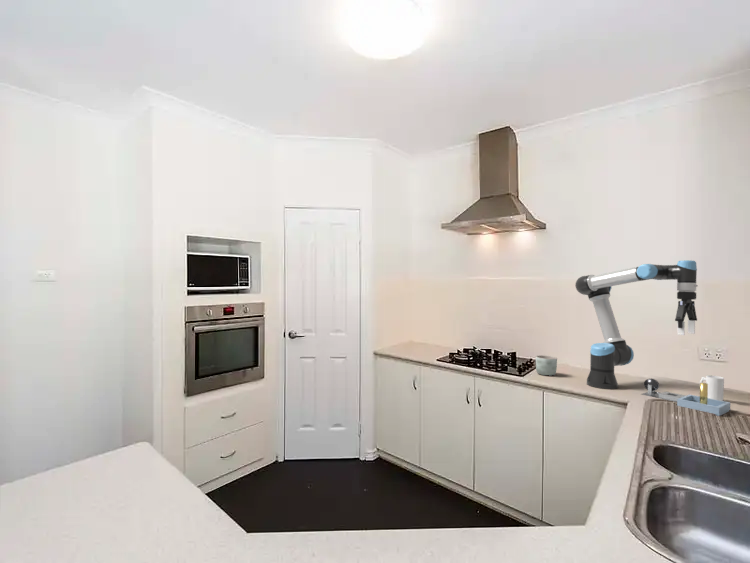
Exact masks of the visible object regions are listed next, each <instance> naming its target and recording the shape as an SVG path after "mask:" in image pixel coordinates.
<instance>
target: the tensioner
mask: <svg viewBox="0 0 750 563" xmlns="http://www.w3.org/2000/svg"><path fill="white" fill-rule="evenodd" d="M643 386H644V388H645V389H646V390H647V392H643V393H641V394H640V395H642V396H647V397H651V398H656V399H660V400H665V401H669V402H675V403H677V399H679V398H681V397H684V396H687V394H686V395H685V394H679V393H675V392H670V391H662V392H658V391H657V390H659V388H660V383H659V381H658V380H657V379H655V378H648V379H645V380H644V381H643Z"/></svg>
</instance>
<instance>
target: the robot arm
mask: <svg viewBox="0 0 750 563" xmlns="http://www.w3.org/2000/svg"><path fill="white" fill-rule="evenodd" d="M697 271H698V268H697V261H696V260H692V259H691V260H678V261H677V264H673V265H672V264H671V265H670V264H667V265H665V264H651V263H644V264H643V263H642V264H641V265H639V266H636V267H630V268H625V269H621V270H616V271H612V272H608V273H607V272H606V273H602V274H597V275H595V274H590V275H589V274H588V275H581V276H580V277H578V278H577V280H576V281H575V284H574V285H575V289H576V291H577V292H578V293H579V294H581V295H584V296H585V295H586V296H587V298H588V300H589V301H590V302H592V304H593V308H594V310H595V313H596V316H597V320H598V323H599V327H600V330H601V334H602V336H603V340H604V341H603V342H596V343H592V344H591V346H590V351H589V352H590V367H589V368H590V370H589V374H588V376H587V379H586V385H588V386H589V387H594V388H599V389H604V390H614V389H618V388H619V384H618V381H617V377H616V374H615V367H618V366H626V365H629V364H630V363H631V362H632V361H633V360H634V354H635V353H634V350H633V348H632V347H631V346H629V345H628V344H627V342H626V339H625V338H622V336H621V333H620V330H619V326H618V324H617V320H616V317H615V315H614V312H613V309H612V305H611V303H610V297H611V290H612V287H613V286H619V285H625V284H631V283H636V282H642V281H648V280H654V281H655V280H657V281H664V280H665V281H666V280H667V281H668V280H669V281H671V280H672V281H673V280H676V281H677V283H676V284H677V285H676V289H677V290H676V291H677V292H676V298H677V300H678V302H677V309H676V315H675V319H674V322H676V324H677V325H676V328H677V331H676V335H678V336H679V335H680V336H685V326H686V325H685V324H686V322H685V321H684V320H685V318H686V315H687V318H688V320H687V334H693V335H694V334H695V333H696V322H697V321H698V318H697V312H696V311H697V310H696V307H695V301H694V300H697V292H696V291H697V288H698V287H699V286H698V284H697Z"/></svg>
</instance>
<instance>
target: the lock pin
mask: <svg viewBox="0 0 750 563" xmlns="http://www.w3.org/2000/svg"><path fill="white" fill-rule="evenodd" d="M699 396H700V403H702V404H707V405H708V384H707V383H706V382H702V383H700V382H699Z"/></svg>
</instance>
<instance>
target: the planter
mask: <svg viewBox="0 0 750 563" xmlns="http://www.w3.org/2000/svg"><path fill="white" fill-rule="evenodd" d="M557 366H558V358H557V357H556V356H551V355H536V356H535V370H536V373H537V374H539V375H540V374H541V376H545V375H549V377H550V376H551V377H553V376H555V375H556V373H557V368H558V367H557ZM552 375H553V376H552Z"/></svg>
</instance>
